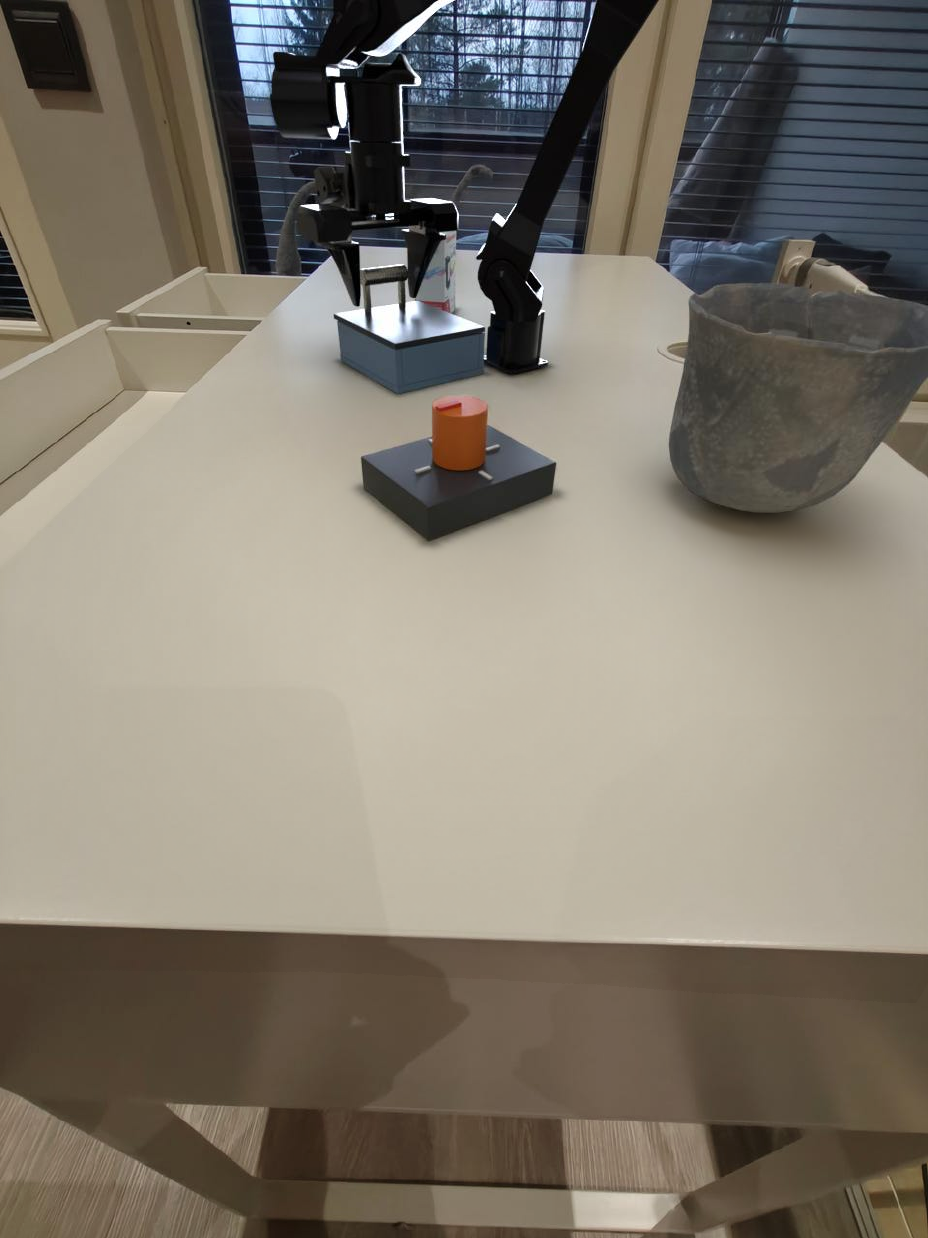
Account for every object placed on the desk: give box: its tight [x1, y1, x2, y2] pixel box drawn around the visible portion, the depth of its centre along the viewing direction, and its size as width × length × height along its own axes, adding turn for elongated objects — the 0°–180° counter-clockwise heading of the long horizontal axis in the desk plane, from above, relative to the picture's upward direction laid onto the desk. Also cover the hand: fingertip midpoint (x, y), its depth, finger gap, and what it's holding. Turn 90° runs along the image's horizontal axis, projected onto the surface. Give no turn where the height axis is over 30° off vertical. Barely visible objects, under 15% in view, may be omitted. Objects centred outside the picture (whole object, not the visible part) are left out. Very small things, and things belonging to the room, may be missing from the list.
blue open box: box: [336, 320, 486, 395], centre depth 73 cm, size 14×13×5 cm
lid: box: [333, 263, 486, 349], centre depth 70 cm, size 14×13×5 cm
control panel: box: [360, 424, 557, 542], centre depth 50 cm, size 13×10×3 cm
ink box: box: [414, 231, 457, 314], centre depth 90 cm, size 9×5×12 cm, turn 168°
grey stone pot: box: [668, 282, 928, 513], centre depth 47 cm, size 18×18×15 cm
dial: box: [431, 394, 489, 471], centre depth 48 cm, size 4×4×5 cm
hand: (385, 301), depth 74 cm, fingers open, 8 cm apart
